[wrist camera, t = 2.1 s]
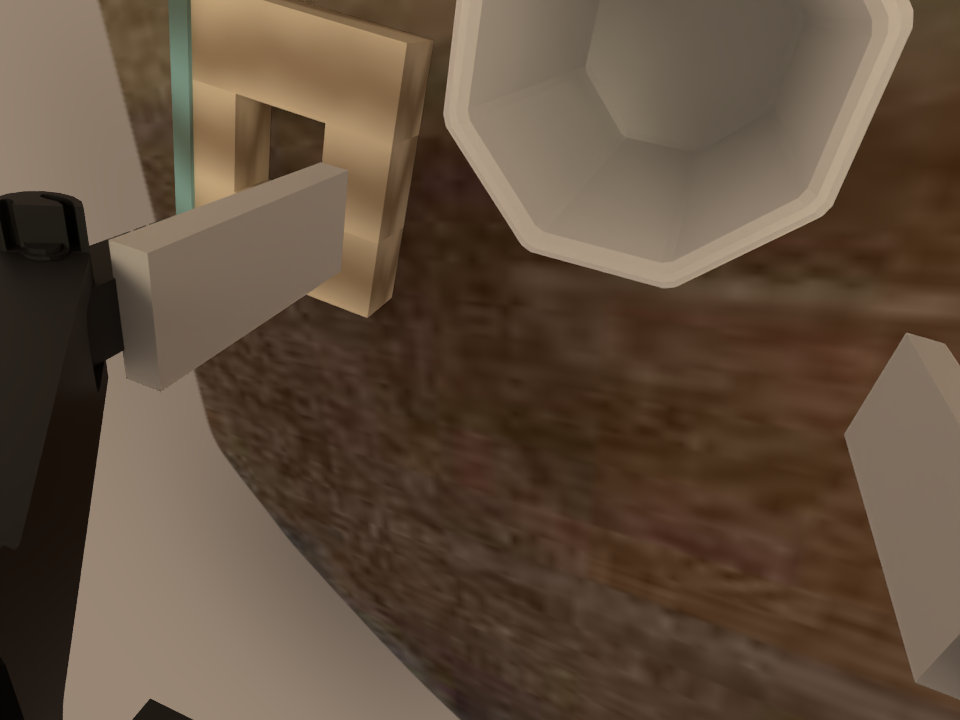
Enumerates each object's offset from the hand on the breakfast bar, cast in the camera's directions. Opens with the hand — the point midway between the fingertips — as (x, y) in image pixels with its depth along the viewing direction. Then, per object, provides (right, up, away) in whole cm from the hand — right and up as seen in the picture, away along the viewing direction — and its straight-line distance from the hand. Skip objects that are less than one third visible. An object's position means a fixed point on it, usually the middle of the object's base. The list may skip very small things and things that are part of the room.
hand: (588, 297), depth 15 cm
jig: (-13, +12, +25) cm, 31 cm away
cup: (+8, +14, +16) cm, 23 cm away
